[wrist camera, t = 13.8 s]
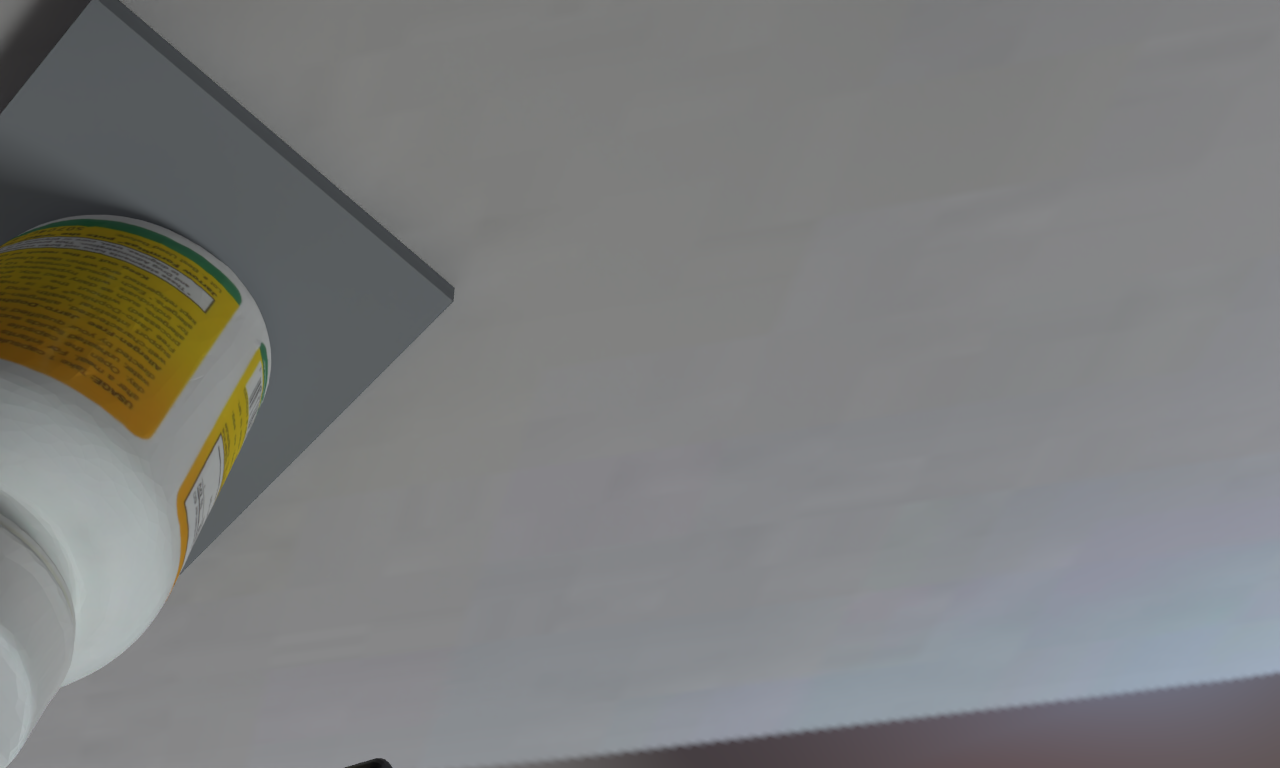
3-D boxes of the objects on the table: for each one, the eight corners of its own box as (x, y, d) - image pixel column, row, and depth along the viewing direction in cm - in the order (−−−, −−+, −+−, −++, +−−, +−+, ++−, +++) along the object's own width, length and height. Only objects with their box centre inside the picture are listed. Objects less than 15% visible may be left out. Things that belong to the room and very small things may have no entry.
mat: (111, -7, 16) (93, -4, 15) (454, 288, 19) (453, 301, 19) (-190, 368, 18) (-218, 386, 17) (167, 575, 21) (157, 596, 21)
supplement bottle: (315, 416, 19) (185, 795, 11) (67, 482, 19) (-261, 920, 11) (206, 173, 17) (-75, 418, 8) (-81, 245, 17) (-668, 573, 8)
